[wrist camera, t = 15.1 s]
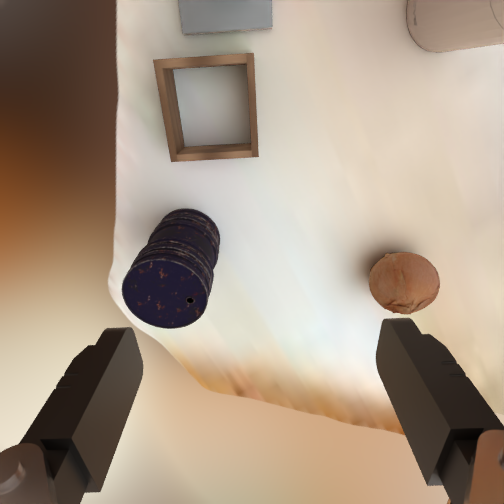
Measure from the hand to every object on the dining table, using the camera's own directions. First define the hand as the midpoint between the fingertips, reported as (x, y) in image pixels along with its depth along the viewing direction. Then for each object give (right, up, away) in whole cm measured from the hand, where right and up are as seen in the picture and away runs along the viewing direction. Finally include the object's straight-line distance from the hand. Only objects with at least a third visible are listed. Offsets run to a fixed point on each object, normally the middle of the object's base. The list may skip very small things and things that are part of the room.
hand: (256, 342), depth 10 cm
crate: (-5, +21, +30) cm, 37 cm away
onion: (+23, +1, +41) cm, 47 cm away
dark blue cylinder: (-10, +5, +39) cm, 40 cm away
